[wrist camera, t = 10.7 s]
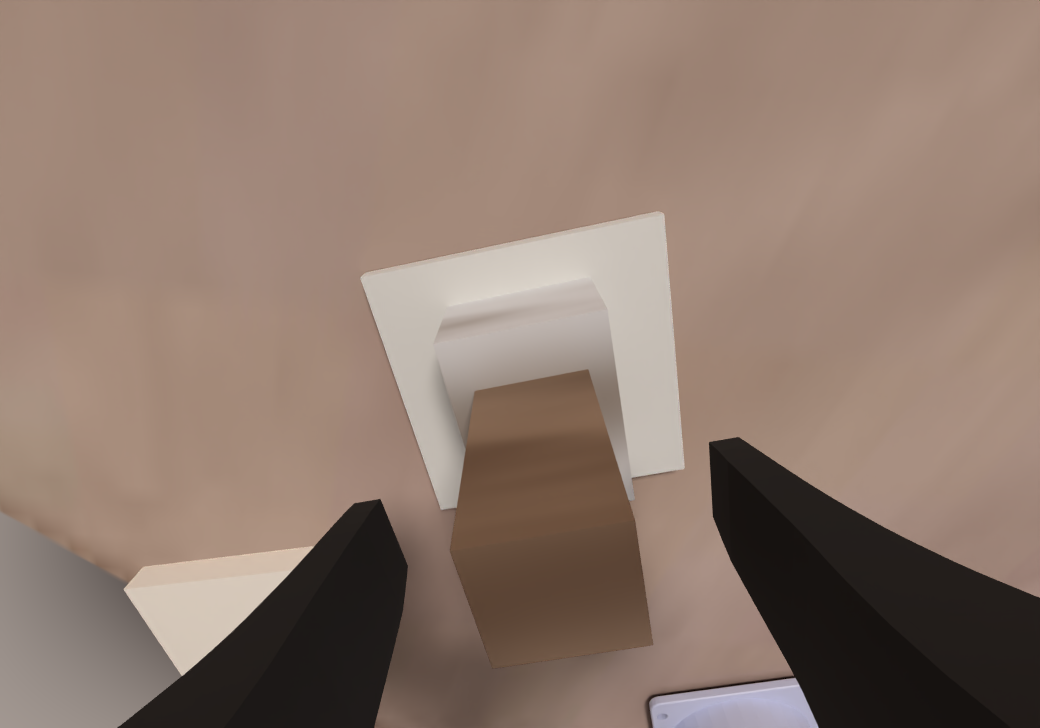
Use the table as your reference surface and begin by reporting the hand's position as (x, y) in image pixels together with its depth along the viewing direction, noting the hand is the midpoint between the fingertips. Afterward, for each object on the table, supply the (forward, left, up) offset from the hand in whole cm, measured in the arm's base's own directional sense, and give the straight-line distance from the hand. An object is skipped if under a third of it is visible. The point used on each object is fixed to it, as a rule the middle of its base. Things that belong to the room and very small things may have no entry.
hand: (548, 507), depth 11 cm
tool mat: (0, 0, -7) cm, 7 cm away
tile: (-9, +10, -6) cm, 15 cm away
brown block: (0, 0, -6) cm, 6 cm away
